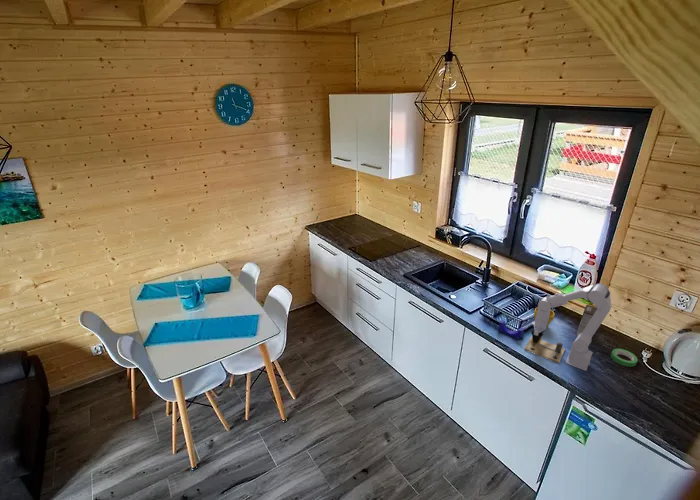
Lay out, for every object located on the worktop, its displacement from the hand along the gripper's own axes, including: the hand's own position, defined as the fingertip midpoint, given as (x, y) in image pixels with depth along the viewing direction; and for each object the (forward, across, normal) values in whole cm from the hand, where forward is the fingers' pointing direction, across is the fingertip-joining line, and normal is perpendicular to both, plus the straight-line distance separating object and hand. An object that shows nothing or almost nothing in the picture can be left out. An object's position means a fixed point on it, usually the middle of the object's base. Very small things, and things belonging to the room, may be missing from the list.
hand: (536, 339), depth 212 cm
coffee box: (+4, -27, +19) cm, 33 cm away
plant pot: (+4, -20, -2) cm, 20 cm away
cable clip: (+4, -2, -14) cm, 14 cm away
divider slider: (+2, +2, 0) cm, 3 cm away
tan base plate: (+3, +2, +5) cm, 6 cm away
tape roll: (+4, -16, +39) cm, 42 cm away
